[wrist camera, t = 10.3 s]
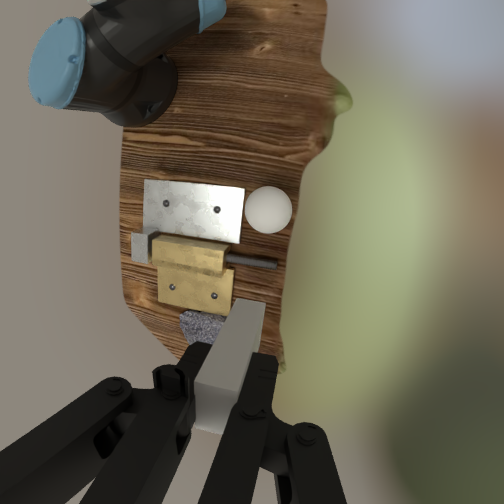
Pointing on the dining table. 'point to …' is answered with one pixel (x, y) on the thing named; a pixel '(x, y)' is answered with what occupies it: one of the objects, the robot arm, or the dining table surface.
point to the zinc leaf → (192, 217)
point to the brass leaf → (194, 273)
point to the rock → (201, 326)
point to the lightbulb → (268, 209)
